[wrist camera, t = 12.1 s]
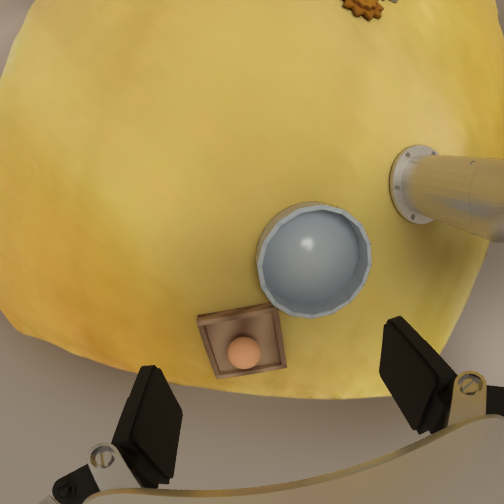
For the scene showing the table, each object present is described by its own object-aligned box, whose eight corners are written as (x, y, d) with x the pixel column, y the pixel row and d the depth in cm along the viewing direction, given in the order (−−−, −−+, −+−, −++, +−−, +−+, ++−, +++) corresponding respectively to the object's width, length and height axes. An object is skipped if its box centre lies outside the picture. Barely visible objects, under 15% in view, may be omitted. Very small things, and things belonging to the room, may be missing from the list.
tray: (275, 301, 41) (277, 306, 39) (285, 360, 44) (287, 367, 43) (197, 315, 41) (196, 321, 39) (216, 372, 44) (216, 379, 43)
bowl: (355, 193, 37) (367, 197, 33) (361, 292, 41) (371, 303, 37) (246, 212, 37) (247, 217, 33) (265, 313, 41) (268, 328, 37)
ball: (257, 328, 41) (258, 348, 36) (262, 352, 42) (263, 373, 38) (225, 332, 41) (222, 352, 36) (232, 356, 43) (230, 377, 38)
